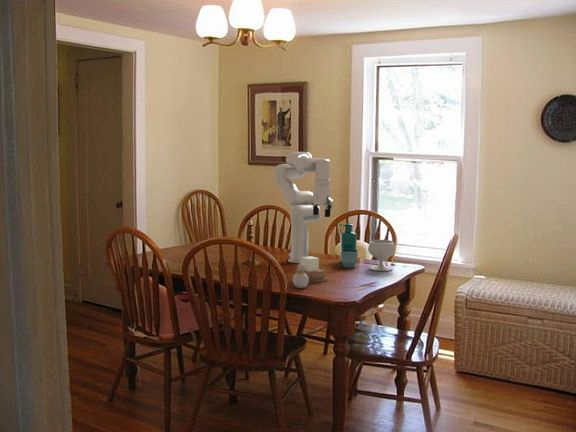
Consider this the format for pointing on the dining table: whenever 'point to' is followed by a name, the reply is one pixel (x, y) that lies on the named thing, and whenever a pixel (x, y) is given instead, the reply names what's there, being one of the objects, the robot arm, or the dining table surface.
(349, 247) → the pitcher
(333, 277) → the dining table surface
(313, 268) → the cream block
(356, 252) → the flower pot
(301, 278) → the perfume bottle
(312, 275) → the walnut pedestal
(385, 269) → the chalice
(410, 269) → the dining table surface
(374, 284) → the dining table surface
